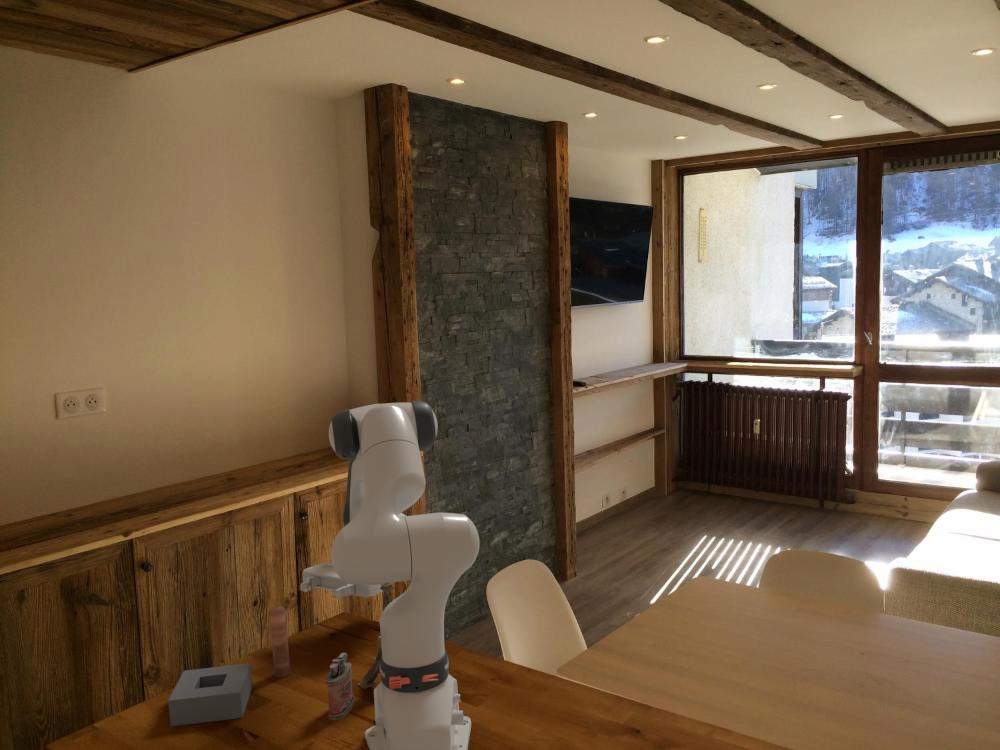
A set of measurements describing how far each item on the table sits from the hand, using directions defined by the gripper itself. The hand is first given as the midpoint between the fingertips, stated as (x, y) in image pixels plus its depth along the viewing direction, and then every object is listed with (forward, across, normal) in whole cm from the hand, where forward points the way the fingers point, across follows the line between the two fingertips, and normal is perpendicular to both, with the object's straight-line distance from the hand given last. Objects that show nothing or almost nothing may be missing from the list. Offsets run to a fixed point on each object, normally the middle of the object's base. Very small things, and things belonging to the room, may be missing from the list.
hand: (318, 591), depth 186 cm
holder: (+29, -2, +14) cm, 32 cm away
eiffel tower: (+6, +25, +14) cm, 29 cm away
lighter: (+19, +23, +14) cm, 32 cm away
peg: (+12, 0, +14) cm, 18 cm away
